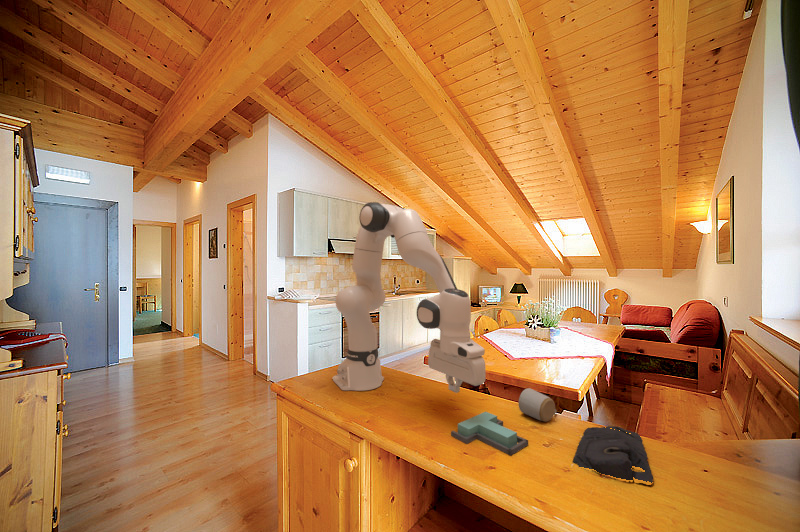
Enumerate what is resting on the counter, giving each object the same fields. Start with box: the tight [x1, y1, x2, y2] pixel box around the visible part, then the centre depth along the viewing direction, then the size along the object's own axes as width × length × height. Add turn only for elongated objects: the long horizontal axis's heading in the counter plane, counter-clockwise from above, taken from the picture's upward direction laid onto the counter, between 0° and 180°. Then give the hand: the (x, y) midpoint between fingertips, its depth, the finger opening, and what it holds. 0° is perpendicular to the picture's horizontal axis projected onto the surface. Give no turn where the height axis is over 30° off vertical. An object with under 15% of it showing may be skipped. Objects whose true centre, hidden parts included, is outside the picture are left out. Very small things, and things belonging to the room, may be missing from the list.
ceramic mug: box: [518, 387, 558, 423], centre depth 102 cm, size 11×8×8 cm
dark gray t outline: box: [450, 418, 529, 457], centre depth 90 cm, size 16×16×1 cm
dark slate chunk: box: [572, 425, 654, 483], centre depth 81 cm, size 15×22×5 cm
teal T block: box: [457, 411, 518, 448], centre depth 91 cm, size 13×12×3 cm
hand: (454, 390), depth 100 cm, fingers closed
